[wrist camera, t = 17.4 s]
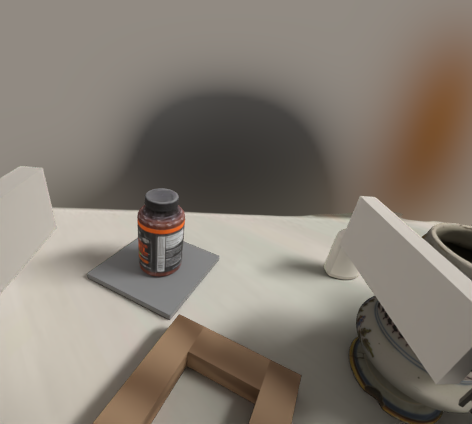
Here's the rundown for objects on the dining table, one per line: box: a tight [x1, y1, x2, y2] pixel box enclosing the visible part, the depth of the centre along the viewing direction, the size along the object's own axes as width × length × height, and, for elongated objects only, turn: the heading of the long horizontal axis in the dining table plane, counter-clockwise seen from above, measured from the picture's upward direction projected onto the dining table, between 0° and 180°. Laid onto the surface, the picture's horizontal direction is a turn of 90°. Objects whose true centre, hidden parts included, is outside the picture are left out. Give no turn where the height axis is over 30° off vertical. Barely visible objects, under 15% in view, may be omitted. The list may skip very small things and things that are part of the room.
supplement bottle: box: [138, 188, 185, 277], centre depth 36 cm, size 6×6×11 cm
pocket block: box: [93, 314, 301, 424], centre depth 23 cm, size 14×14×2 cm
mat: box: [87, 238, 219, 320], centre depth 39 cm, size 13×13×1 cm
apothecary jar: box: [349, 223, 472, 424], centre depth 26 cm, size 12×12×18 cm
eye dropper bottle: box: [324, 228, 360, 279], centre depth 42 cm, size 4×6×12 cm
